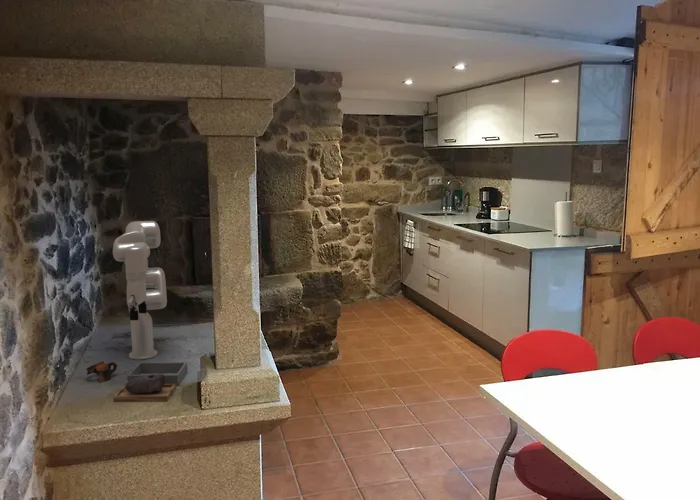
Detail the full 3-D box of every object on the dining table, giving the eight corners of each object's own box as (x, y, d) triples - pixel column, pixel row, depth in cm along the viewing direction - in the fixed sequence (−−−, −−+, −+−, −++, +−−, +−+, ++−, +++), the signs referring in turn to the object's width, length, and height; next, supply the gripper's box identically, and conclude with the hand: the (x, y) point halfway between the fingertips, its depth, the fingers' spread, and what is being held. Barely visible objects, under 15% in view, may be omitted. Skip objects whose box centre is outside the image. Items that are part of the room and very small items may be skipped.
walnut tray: (125, 388, 226) (125, 384, 225) (176, 388, 226) (175, 383, 226) (113, 401, 214) (113, 396, 214) (167, 401, 214) (167, 396, 214)
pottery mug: (93, 386, 229) (85, 368, 230) (91, 388, 237) (83, 370, 238) (122, 372, 236) (113, 355, 237) (119, 374, 244) (111, 358, 244)
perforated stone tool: (124, 396, 216) (123, 379, 215) (127, 391, 221) (126, 374, 220) (164, 393, 219) (163, 377, 217) (166, 388, 224) (165, 372, 223)
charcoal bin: (140, 372, 243) (139, 362, 242) (187, 371, 243) (187, 362, 242) (127, 385, 228) (127, 375, 228) (178, 385, 229) (177, 375, 228)
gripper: (134, 271, 234) (137, 310, 237) (118, 281, 217) (121, 323, 220) (152, 271, 234) (154, 310, 237) (137, 281, 217) (140, 323, 220)
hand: (138, 316), depth 229 cm, fingers open, 9 cm apart
